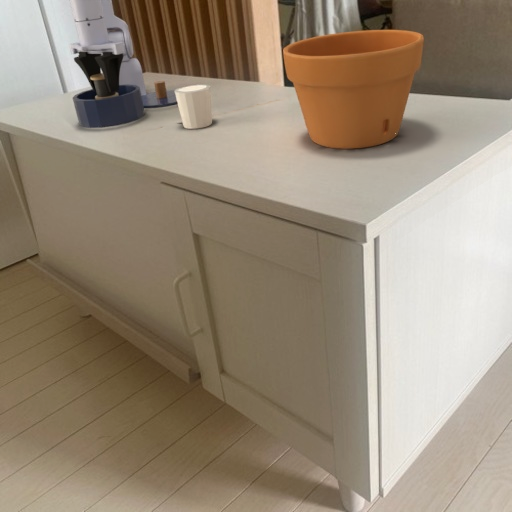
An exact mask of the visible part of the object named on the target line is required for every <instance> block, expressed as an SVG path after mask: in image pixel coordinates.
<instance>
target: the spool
mask: <svg viewBox="0 0 512 512" xmlns="http://www.w3.org/2000/svg"><path fill="white" fill-rule="evenodd" d="M90 78H91V80H94V84H95V89H96V93H97V95H96V96H95V99H104V98H110V97H115V96H119V94H118V93H117V92H115V91H114V92H109V90H108V87H107V84H106V81H105V78H104V75H103V73H100V74H96V75H92V76H90Z"/></svg>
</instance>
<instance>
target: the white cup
mask: <svg viewBox="0 0 512 512" xmlns="http://www.w3.org/2000/svg"><path fill="white" fill-rule="evenodd" d="M174 90H175V95H176V99H177V103H178V104H177V106H178V110H179V115H180V118H181V123H182V125H183V128H185V129H188V130H189V129H190V130H195V129H196V130H197V129H201V128H206V127H209V126H211V125H213V112H212V89H211V85H209V84H190V85H185V86H181V87H178V88H175V89H174Z"/></svg>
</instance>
